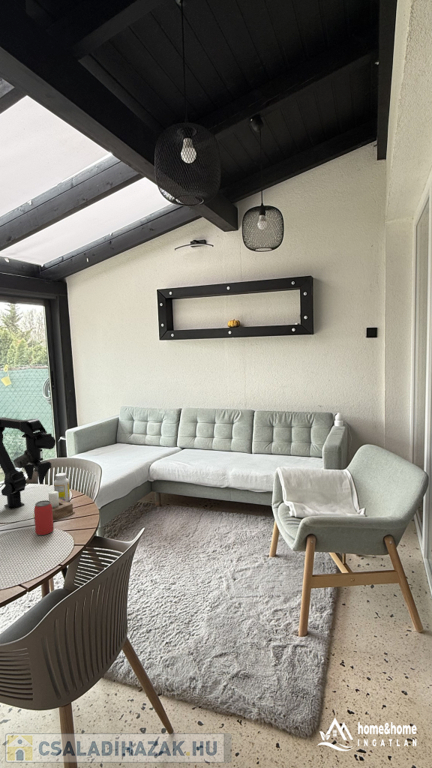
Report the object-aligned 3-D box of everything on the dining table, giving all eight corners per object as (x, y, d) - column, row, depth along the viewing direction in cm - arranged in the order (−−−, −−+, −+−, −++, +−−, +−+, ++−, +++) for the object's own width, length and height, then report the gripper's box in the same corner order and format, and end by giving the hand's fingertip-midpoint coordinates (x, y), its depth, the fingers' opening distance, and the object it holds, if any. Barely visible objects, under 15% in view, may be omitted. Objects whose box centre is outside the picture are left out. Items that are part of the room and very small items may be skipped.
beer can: (47, 536, 160) (45, 506, 159) (32, 535, 162) (30, 505, 160) (56, 529, 167) (55, 500, 165) (42, 527, 168) (40, 499, 167)
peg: (52, 515, 179) (51, 495, 178) (47, 513, 181) (46, 493, 180) (61, 512, 182) (60, 492, 181) (56, 510, 184) (55, 490, 183)
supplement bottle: (64, 496, 202) (63, 471, 200) (72, 499, 198) (71, 473, 196) (52, 501, 196) (50, 475, 195) (60, 504, 192) (58, 477, 191)
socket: (34, 515, 180) (33, 506, 180) (59, 506, 190) (59, 497, 189) (49, 522, 173) (48, 512, 173) (74, 512, 182) (74, 503, 182)
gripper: (5, 448, 183) (7, 482, 185) (26, 454, 172) (28, 491, 173) (29, 443, 192) (31, 475, 193) (51, 449, 180) (53, 483, 182)
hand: (35, 481), depth 185 cm, fingers open, 9 cm apart
